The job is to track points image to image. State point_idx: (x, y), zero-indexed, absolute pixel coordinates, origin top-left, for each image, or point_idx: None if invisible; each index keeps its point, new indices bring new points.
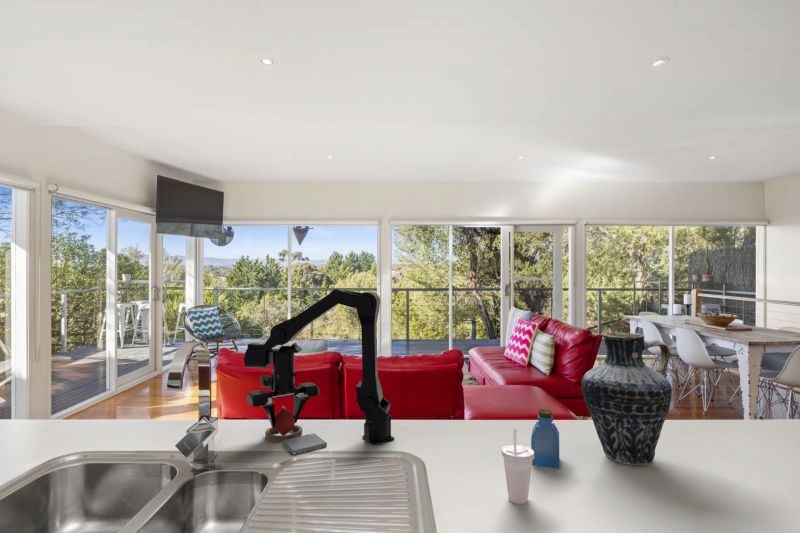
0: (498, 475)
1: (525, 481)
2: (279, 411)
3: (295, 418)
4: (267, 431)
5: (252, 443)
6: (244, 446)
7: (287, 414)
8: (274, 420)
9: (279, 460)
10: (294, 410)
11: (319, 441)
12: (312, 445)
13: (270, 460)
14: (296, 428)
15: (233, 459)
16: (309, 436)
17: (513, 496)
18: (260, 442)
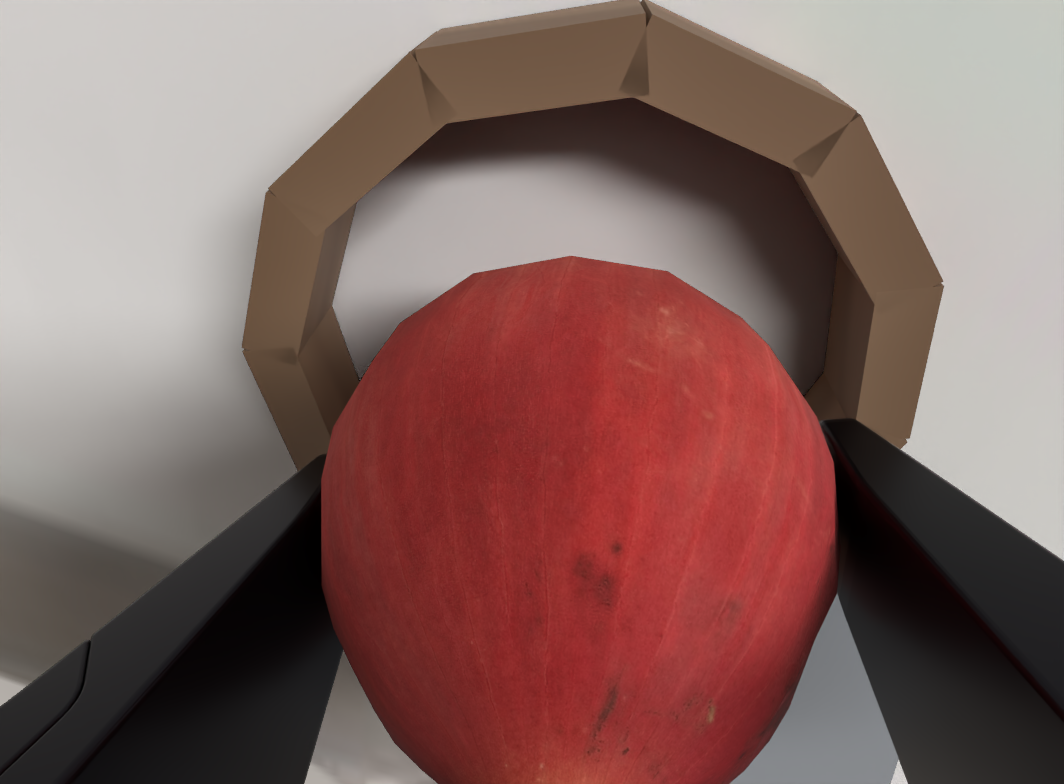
0: None
1: None
2: (422, 744)
3: (840, 588)
4: (278, 323)
5: (118, 387)
6: (35, 430)
7: None
8: (324, 685)
9: (416, 767)
10: (958, 673)
11: (842, 755)
12: (732, 781)
13: (349, 746)
14: (857, 290)
15: (29, 636)
16: (834, 635)
17: None
18: (225, 403)
